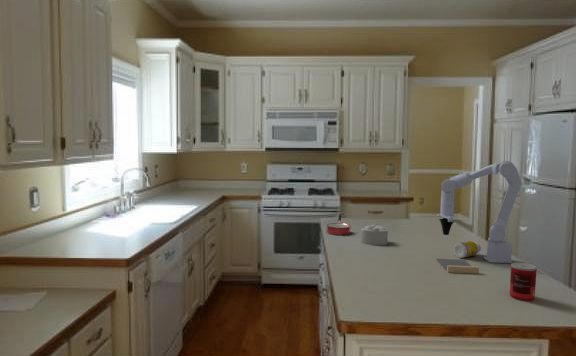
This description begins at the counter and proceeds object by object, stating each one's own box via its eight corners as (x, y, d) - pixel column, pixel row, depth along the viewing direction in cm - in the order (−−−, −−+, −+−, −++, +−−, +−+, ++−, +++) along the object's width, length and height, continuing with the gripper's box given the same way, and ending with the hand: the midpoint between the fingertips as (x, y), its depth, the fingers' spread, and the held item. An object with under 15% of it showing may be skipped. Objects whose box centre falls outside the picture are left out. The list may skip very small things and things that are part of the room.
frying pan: (325, 224, 278) (325, 213, 278) (346, 224, 278) (346, 214, 277) (327, 235, 246) (327, 223, 246) (351, 235, 246) (351, 224, 245)
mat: (464, 260, 199) (464, 255, 198) (478, 273, 179) (478, 267, 179) (436, 259, 200) (436, 253, 199) (447, 272, 181) (447, 266, 180)
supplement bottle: (468, 253, 198) (485, 249, 205) (459, 240, 202) (477, 237, 209) (458, 261, 203) (476, 257, 210) (450, 248, 206) (467, 245, 213)
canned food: (526, 293, 157) (528, 262, 156) (539, 301, 150) (542, 269, 149) (504, 293, 157) (506, 262, 156) (517, 301, 149) (519, 268, 148)
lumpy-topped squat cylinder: (388, 245, 225) (388, 228, 224) (361, 244, 225) (362, 227, 225) (384, 240, 235) (385, 224, 234) (359, 240, 236) (360, 223, 235)
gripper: (434, 202, 214) (433, 231, 215) (442, 207, 199) (440, 237, 201) (449, 203, 213) (448, 231, 214) (458, 208, 199) (457, 238, 200)
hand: (445, 234), depth 207 cm, fingers closed
